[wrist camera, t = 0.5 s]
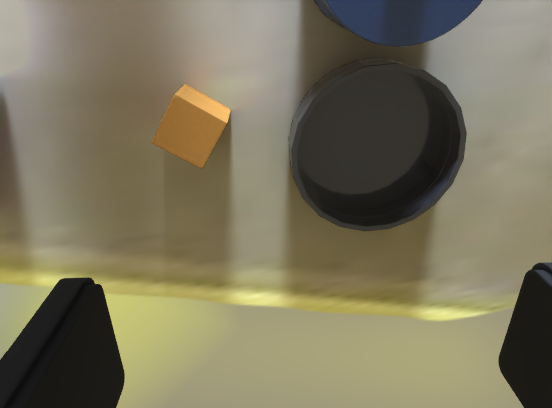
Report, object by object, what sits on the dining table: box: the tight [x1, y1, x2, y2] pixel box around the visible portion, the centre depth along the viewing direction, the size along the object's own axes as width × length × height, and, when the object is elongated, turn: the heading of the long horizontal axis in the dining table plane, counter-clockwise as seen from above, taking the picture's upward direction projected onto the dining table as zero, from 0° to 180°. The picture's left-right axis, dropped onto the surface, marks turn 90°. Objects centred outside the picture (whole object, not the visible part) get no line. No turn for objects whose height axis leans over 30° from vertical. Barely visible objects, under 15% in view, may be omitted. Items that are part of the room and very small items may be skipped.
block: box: [152, 84, 231, 169], centre depth 34 cm, size 4×4×4 cm
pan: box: [288, 58, 467, 231], centre depth 35 cm, size 15×15×4 cm
